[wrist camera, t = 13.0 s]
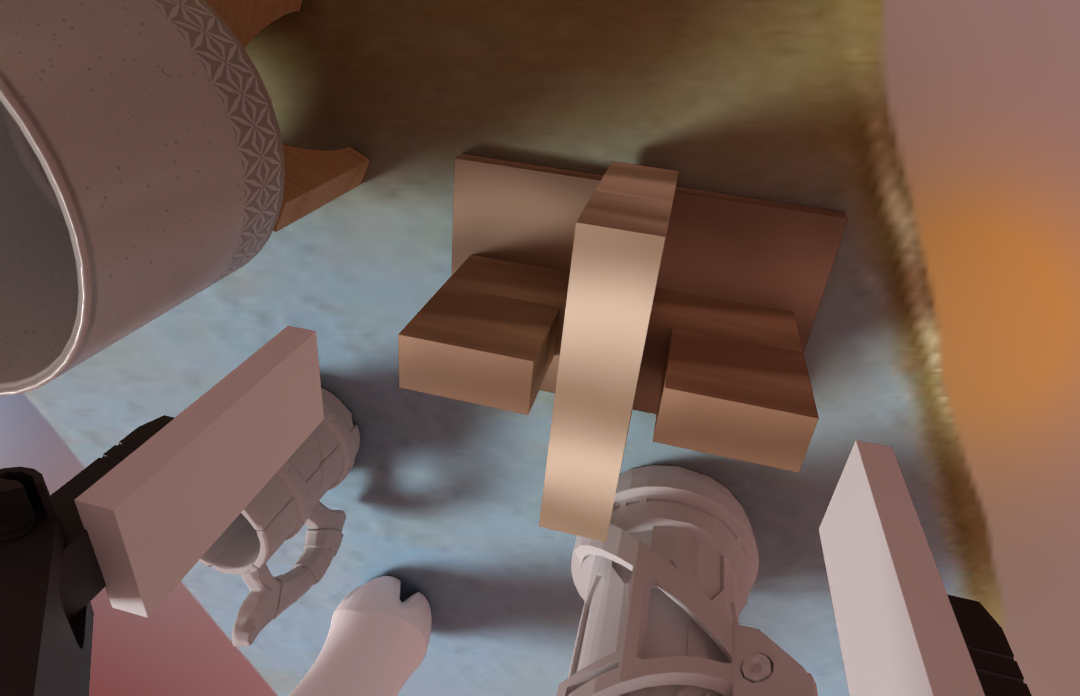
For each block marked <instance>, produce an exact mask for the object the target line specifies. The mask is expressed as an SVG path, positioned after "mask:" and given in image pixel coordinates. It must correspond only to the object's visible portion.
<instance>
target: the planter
mask: <svg viewBox="0 0 1080 696" xmlns="http://www.w3.org/2000/svg"><path fill="white" fill-rule="evenodd" d="M302 1H303V0H0V395H12V394H20V393H24V392H27V391H30V390H33V389H37V388H39V387H41V386H43V385H45V384H46V383H48V382H50V381H51V380H53V379H55V378H56V377H58V376H60V375H61V374H63V373H65V372H66V371H68V370H70V369H71V368H73V367H75V366H76V365H78V364H80V363H81V362H83V361H85V360H86V359H88V358H90V357H92V356H93V355H95V354H97V353H98V352H100V351H102V350H103V349H105V348H107V347H108V346H110V345H112V344H113V343H115V342H117V341H118V340H120V339H122V338H123V337H125V336H127V335H128V334H130V333H132V332H133V331H135V330H137V329H138V328H140V327H142V326H144V325H145V324H147V323H149V322H150V321H152V320H154V319H155V318H157V317H159V316H160V315H162V314H164V313H165V312H167V311H169V310H170V309H172V308H174V307H175V306H177V305H179V304H180V303H182V302H184V301H185V300H187V299H189V298H191V297H192V296H194V295H196V294H197V293H199V292H201V291H202V290H204V289H206V288H207V287H209V286H211V285H212V284H214V283H216V282H217V281H219V280H221V279H222V278H224V277H226V276H227V275H229V274H231V273H232V272H234V271H236V270H237V269H239V268H241V267H243V266H244V265H246V264H247V263H248V262H249V261H250V260H251V259H252V258H253V257H255V256H256V255H257V254H258V253H259V251H260V250H261V249H262V247H263V246H264V244H265V243H266V242H267V240H268V239H269V237H270V235H271V233H272V231H273V230H274V231H275V232H277V231H279V230H280V229H282V228H284V227H286V226H288V225H289V224H291V223H293V222H295V221H296V220H298V219H300V218H302V217H303V216H305V215H307V214H309V213H311V212H312V211H314V210H316V209H318V208H319V207H321V206H323V205H325V204H327V203H328V202H330V201H332V200H334V199H335V198H337V197H339V196H341V195H343V194H344V193H346V192H348V191H350V190H351V189H353V188H355V187H357V186H359V185H360V184H361V182H362V180H363V178H364V175H365V173H366V170H367V168H368V166H369V163H370V159H368V158H366V157H365V156H363V155H362V154H360V153H359V152H357V151H356V150H354V149H352V148H351V147H348V148H345V149H341V150H329V151H321V150H309V149H303V148H297V147H293V146H288V145H284V144H282V140H281V135H280V129H279V125H278V122H277V119H276V115H275V112H274V109H273V106H272V103H271V100H270V97H269V95H268V93H267V91H266V88H265V86H264V84H263V81H262V79H261V77H260V75H259V73H258V71H257V69H256V68H255V66H254V64H253V62H252V61H251V59H250V57H249V55H248V54H247V52H246V50H245V49H244V48H245V47H246V46H247V45H248V44H249V42H250V41H251V40H252V39H253V38H254V37H255V36H256V35H257V34H258V33H259V32H260V31H261V30H262V29H264V28H265V27H266V26H268V25H269V24H270V23H271V22H273V21H275V20H276V19H278V18H280V17H281V16H283V15H286V14H288V13H291V12H296V11H300V8H301V4H302Z"/></svg>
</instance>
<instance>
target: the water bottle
mask: <svg viewBox="0 0 1080 696" xmlns="http://www.w3.org/2000/svg"><path fill="white" fill-rule="evenodd" d="M430 632H431V610H430V605H429V603H428V601H427V599H426V598H425V596H424V595H423V594H421V593H420V592H417V593H415V594H413V595H412V596H410V597H409V598H408V599H407V600H405V601H404V602H401V601H400V580H398V579H397V578H395V577H391V576H381V577H378V578H374V579H372V580H370V581H369V582H367V583H365V584H364V585H361V586H359V587H357V588H356V589H354V590H353V591H351V592H350V593H349V594H347V595H346V596H345V597H344V599H343V600H342V601H341V603H340V604H339V605H338V607H337V608H336V610H335V612H334V613H333V616H332V622H331V627H330V630H329V634H328V636H327V639H326V641H325V644H324V646H323V649H322V650H321V652H320V654H319V656H318V658H317V659H316V661H315V663H314V664H313V666H312V667H311V669H310V670H309V672H308V673H307V674H306V675H305V677H304V678H303V679H302V681H301V682H300V683H299V684H298V685H297V686H296V687H295V688H294V690H293V691H292V692H291V693H290V694H289V695H288V696H397V694H398V693H399V691H400V690H401V688H402V686H403V685H404V683H405V682H406V681H407V679H408V678H409V677H410V676H411V674H412V673H413V672H414V671H415V670H416V669H417V668H418V666H419V665H420V664H421V662H422V661H423V659H424V657H425V654H426V652H427V648H428V643H429V638H430Z"/></svg>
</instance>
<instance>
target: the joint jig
mask: <svg viewBox="0 0 1080 696" xmlns="http://www.w3.org/2000/svg"><path fill="white" fill-rule="evenodd" d="M603 176H604V175H598V174H591V173H585V172H578V171H572V170H565V169H558V168H552V167H545V166H539V165H532V164H526V163H519V162H513V161H506V160H500V159H493V158H486V157H480V156H473V155H467V154H460V155H459V156H457V157H456V158H455V161H454V199H453V237H452V276H451V277H450V278H449V279H448V280H447V282H446V283H445V284H444V285H443V286H442V287H441V288H440V289H439V290H438V291H437V293H436V294H435V295H434V296H433V297H432V298H431V299H430V300H429V301H428V302H427V304H426V305H425V306H424V307H423V308H422V309H421V310H420V311H419V312H418V313H417V315H416V316H415V317H414V318H413V319H412V320H411V321H410V322H409V323H408V324H407V326H406V327H405V328H404V329H403V330H402V331H401V332H400V333H399V334H398V343H399V387H400V388H404V389H409V390H414V391H418V392H423V393H428V394H432V395H437V396H442V397H446V398H451V399H456V400H461V401H465V402H470V403H475V404H479V405H484V406H489V407H493V408H498V409H503V410H507V411H512V412H517V413H522V414H526V415H528V414H529V412H530V410H531V407H532V405H533V403H534V401H535V398H536V396H537V394H538V391H539V390H542V391H547V392H552V393H555V391H556V383H557V375H558V367H559V358H560V350H561V342H562V334H563V326H564V318H565V309H566V301H567V293H568V285H569V277H570V268H571V260H572V252H573V244H574V236H575V227H576V222H577V220H578V218H579V217H580V215H581V213H582V212H583V210H584V208H585V207H586V205H587V203H588V201H589V200H590V198H591V196H592V195H593V193H594V191H595V190H596V188H597V186H598V184H599V183H600V181H601V179H602V178H603ZM847 221H848V218H847V216H846V214H845V212H840V211H834V210H827V209H820V208H814V207H807V206H801V205H794V204H788V203H781V202H775V201H768V200H761V199H755V198H748V197H742V196H735V195H729V194H722V193H716V192H709V191H703V190H696V189H689V188H683V187H676V188H675V193H674V198H673V203H672V208H671V214H670V219H669V224H668V229H667V234H666V239H665V244H664V249H663V255H662V260H661V265H660V270H659V275H658V280H657V285H656V290H655V295H654V300H653V305H652V310H651V315H650V320H649V325H648V330H647V335H646V341H645V346H644V351H643V356H642V361H641V366H640V371H639V372H640V373H639V378H638V383H637V388H636V393H635V398H634V404H633V409H634V410H639V411H644V412H649V413H654V414H657V415H656V422H655V429H654V437H653V442H658V443H662V444H667V445H672V446H676V447H681V448H686V449H691V450H695V451H700V452H705V453H709V454H714V455H719V456H723V457H728V458H733V459H738V460H742V461H747V462H752V463H756V464H761V465H766V466H770V467H775V468H780V469H784V470H789V471H794V472H799V470H800V468H801V465H802V462H803V460H804V457H805V454H806V452H807V449H808V446H809V443H810V441H811V438H812V435H813V433H814V430H815V427H816V425H817V422H818V419H819V418H818V414H817V409H816V405H815V401H814V396H813V392H812V388H811V384H810V379H809V375H808V371H807V367H806V362H805V358H804V354H803V352H804V349H805V346H806V343H807V340H808V337H809V334H810V331H811V328H812V325H813V322H814V319H815V316H816V313H817V310H818V307H819V304H820V301H821V298H822V295H823V292H824V289H825V286H826V283H827V280H828V277H829V274H830V271H831V268H832V265H833V262H834V260H835V257H836V254H837V251H838V248H839V245H840V242H841V239H842V236H843V233H844V230H845V227H846V224H847Z"/></svg>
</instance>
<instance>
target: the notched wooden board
mask: <svg viewBox="0 0 1080 696" xmlns="http://www.w3.org/2000/svg"><path fill="white" fill-rule="evenodd" d="M678 172H679V171H674V170H668V169H661V168H654V167H648V166H641V165H634V164H627V163H621V162H614V161H612V162H611V164H610V166H609V168H608V169H607V171H606V173H605V174H604V176H603V178H602V179H601V181H600V183H599V184H598V186H597V188H596V190H595V191H594V193H593V195H592V196H591V198H590V200H589V201H588V203H587V205H586V207H585V208H584V210H583V212H582V213H581V215H580V217H579V218H578V220H577V222H576V227H575V236H574V244H573V252H572V260H571V268H570V277H569V285H568V293H567V301H566V309H565V318H564V326H563V334H562V342H561V350H560V358H559V367H558V375H557V383H556V391H555V399H554V408H553V416H552V424H551V432H550V440H549V449H548V457H547V465H546V473H545V481H544V490H543V498H542V506H541V514H540V522H539V526H540V527H544V528H548V529H552V530H557V531H561V532H565V533H569V534H573V535H578V536H582V537H586V538H590V539H594V540H598V541H603V542H606V540H607V535H608V530H609V525H610V520H611V515H612V510H613V505H614V500H615V495H616V490H617V485H618V479H619V474H620V469H621V464H622V459H623V454H624V449H625V444H626V439H627V434H628V429H629V424H630V419H631V414H632V409H633V404H634V398H635V393H636V388H637V383H638V378H639V373H640V372H639V371H640V366H641V361H642V356H643V351H644V346H645V341H646V335H647V330H648V325H649V320H650V315H651V310H652V305H653V300H654V295H655V290H656V285H657V280H658V275H659V270H660V265H661V260H662V255H663V249H664V244H665V239H666V234H667V229H668V224H669V219H670V214H671V208H672V203H673V198H674V193H675V188H676V183H677V178H678Z"/></svg>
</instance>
